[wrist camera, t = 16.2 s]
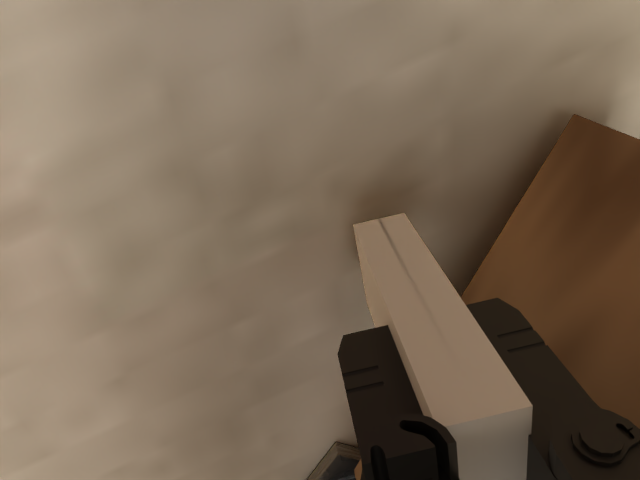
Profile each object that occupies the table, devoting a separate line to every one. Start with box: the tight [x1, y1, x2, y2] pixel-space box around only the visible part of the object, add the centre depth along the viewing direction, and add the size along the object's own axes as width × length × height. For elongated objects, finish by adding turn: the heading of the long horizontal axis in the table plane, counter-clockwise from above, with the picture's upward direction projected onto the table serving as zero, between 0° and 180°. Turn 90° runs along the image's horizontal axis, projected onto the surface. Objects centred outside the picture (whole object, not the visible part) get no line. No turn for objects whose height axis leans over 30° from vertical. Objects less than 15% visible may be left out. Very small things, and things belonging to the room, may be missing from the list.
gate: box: [354, 114, 640, 480], centre depth 12 cm, size 15×2×8 cm, turn 158°
